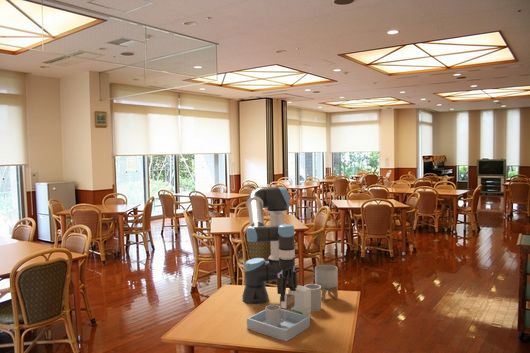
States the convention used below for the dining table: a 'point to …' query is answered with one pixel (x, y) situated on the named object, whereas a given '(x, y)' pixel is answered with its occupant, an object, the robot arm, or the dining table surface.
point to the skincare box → (302, 301)
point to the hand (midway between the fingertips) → (287, 305)
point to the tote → (286, 329)
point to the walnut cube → (289, 301)
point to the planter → (327, 279)
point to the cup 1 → (274, 315)
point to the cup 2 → (315, 296)
